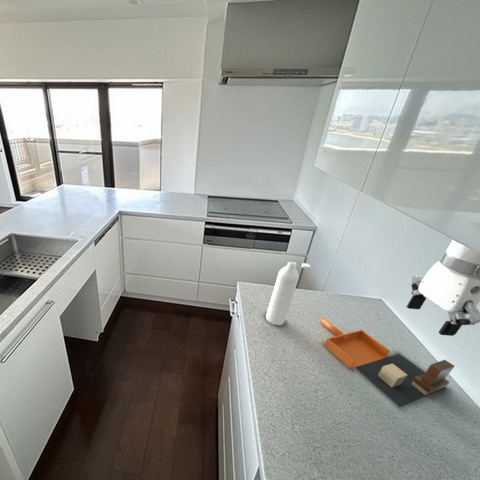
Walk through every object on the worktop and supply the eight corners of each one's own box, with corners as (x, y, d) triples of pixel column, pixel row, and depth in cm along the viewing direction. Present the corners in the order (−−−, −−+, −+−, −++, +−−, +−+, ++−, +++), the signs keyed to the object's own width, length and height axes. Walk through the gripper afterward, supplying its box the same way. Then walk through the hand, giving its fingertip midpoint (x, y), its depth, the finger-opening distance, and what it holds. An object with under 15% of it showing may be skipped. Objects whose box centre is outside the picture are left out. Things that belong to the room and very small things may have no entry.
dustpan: (385, 358, 83) (390, 350, 81) (350, 369, 78) (354, 361, 77) (335, 319, 98) (338, 312, 97) (303, 326, 94) (305, 319, 93)
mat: (398, 354, 84) (399, 353, 84) (446, 388, 74) (446, 388, 74) (354, 367, 79) (354, 367, 79) (399, 407, 68) (399, 406, 68)
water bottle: (266, 323, 94) (283, 265, 84) (265, 312, 100) (281, 256, 90) (291, 329, 92) (312, 270, 82) (288, 317, 98) (308, 261, 88)
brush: (428, 376, 77) (444, 356, 73) (444, 388, 73) (461, 367, 70) (410, 383, 74) (424, 362, 71) (425, 396, 71) (442, 374, 67)
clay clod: (386, 372, 77) (392, 363, 76) (401, 384, 74) (407, 374, 72) (377, 375, 76) (383, 366, 75) (391, 387, 73) (398, 378, 71)
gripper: (526, 287, 52) (477, 348, 59) (445, 249, 68) (415, 300, 75) (487, 284, 52) (444, 345, 60) (416, 247, 68) (388, 298, 75)
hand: (428, 320), depth 67 cm, fingers open, 9 cm apart
